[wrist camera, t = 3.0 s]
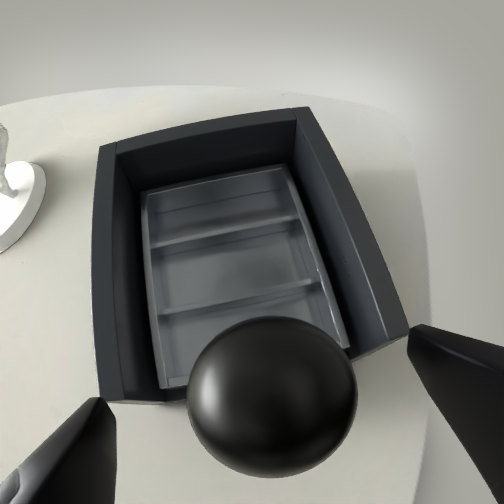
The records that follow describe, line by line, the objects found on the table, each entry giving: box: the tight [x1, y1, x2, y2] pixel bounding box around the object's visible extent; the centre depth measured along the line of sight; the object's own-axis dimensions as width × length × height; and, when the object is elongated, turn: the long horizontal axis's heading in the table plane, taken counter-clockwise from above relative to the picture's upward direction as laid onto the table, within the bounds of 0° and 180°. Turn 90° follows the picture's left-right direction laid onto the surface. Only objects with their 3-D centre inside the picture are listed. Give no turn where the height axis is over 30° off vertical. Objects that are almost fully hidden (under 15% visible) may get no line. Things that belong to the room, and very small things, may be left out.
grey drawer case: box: [91, 106, 410, 405], centre depth 15 cm, size 12×11×6 cm
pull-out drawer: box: [140, 163, 358, 478], centre depth 11 cm, size 13×8×11 cm, turn 13°
